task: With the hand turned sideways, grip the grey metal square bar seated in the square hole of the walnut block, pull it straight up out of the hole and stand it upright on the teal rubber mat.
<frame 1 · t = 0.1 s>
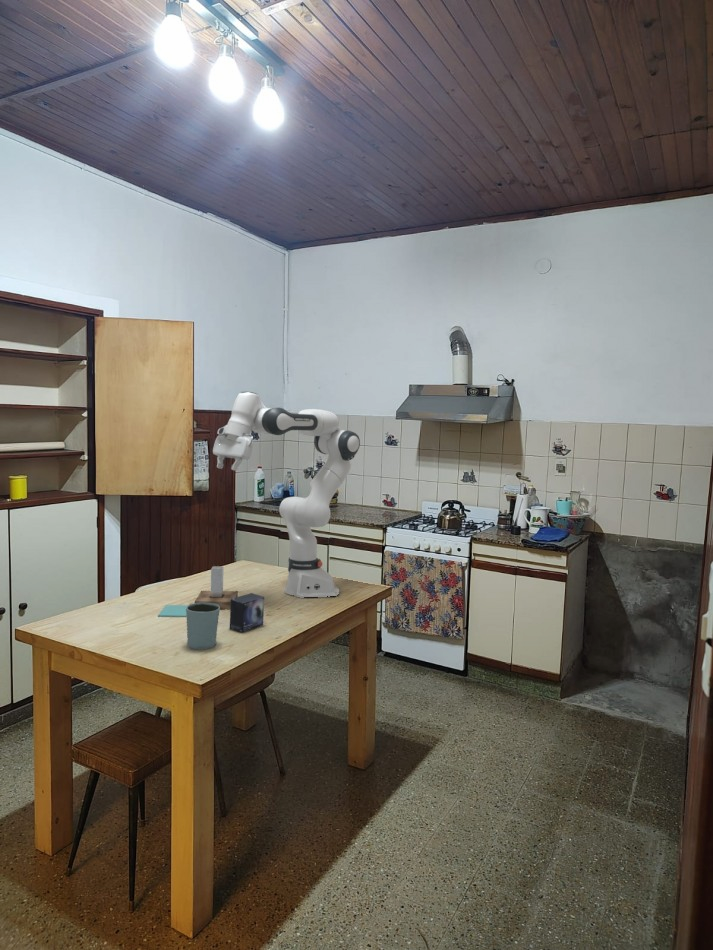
hand: (226, 469, 221), 52 cm above the table, tool tilted 20°, fingers open, 8 cm apart
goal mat: (178, 611, 221), on the table
metal bar: (217, 585, 231), in the socket block
grey-green cup: (202, 645, 190), on the table
small box: (246, 628, 207), on the table
socket block: (216, 603, 232), on the table
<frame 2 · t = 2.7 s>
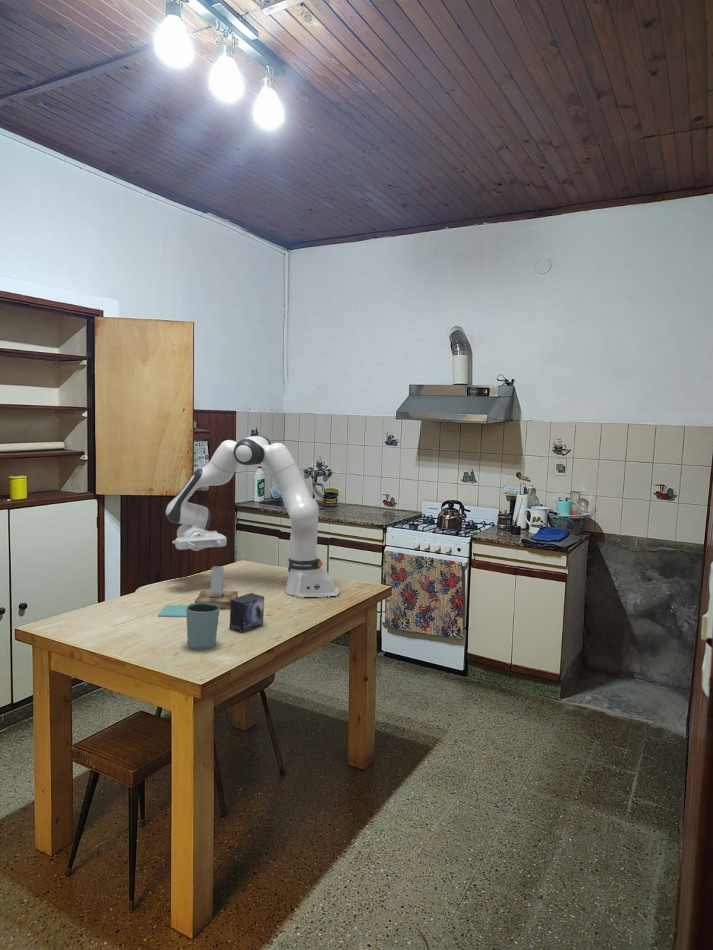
hand: (207, 546, 240), 20 cm above the table, tool horizontal, fingers open, 8 cm apart
nothing on the table moved.
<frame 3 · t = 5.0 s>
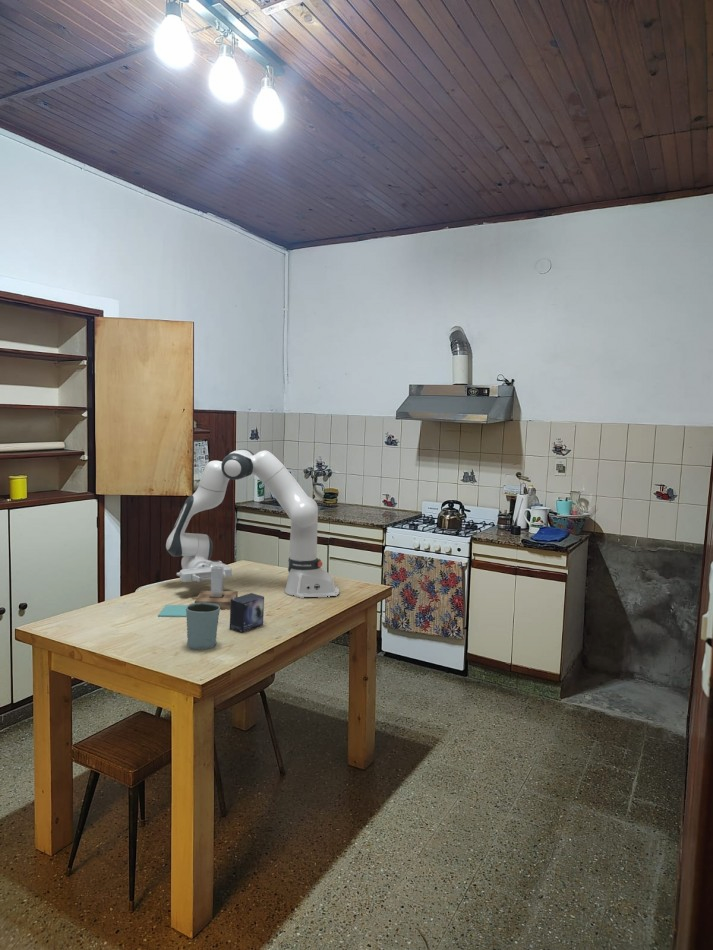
hand: (212, 578, 236), 8 cm above the table, tool horizontal, fingers open, 8 cm apart
nothing on the table moved.
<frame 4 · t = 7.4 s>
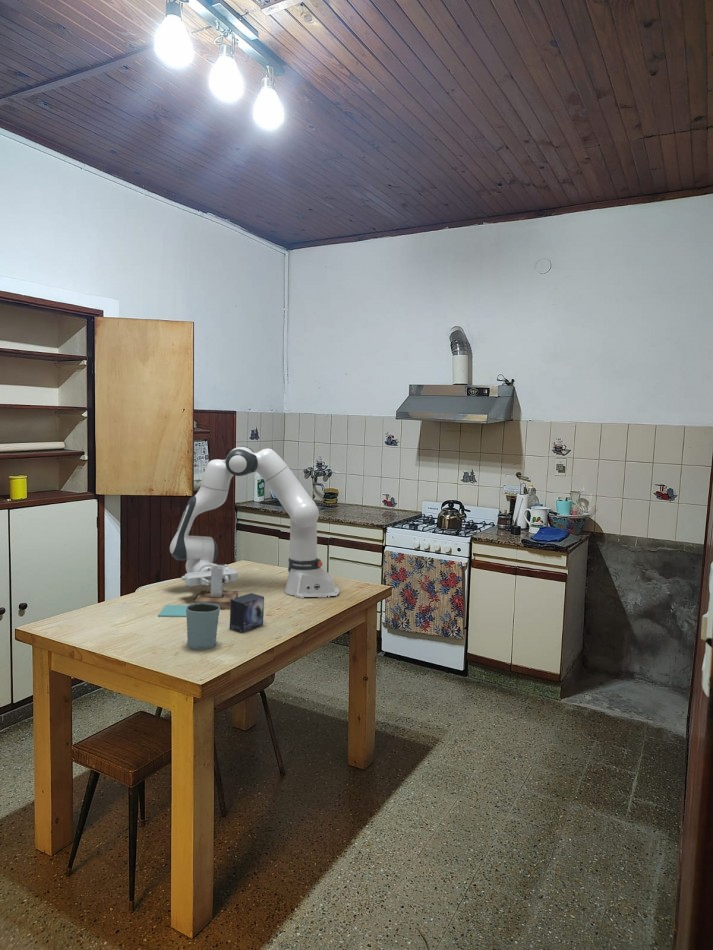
hand: (218, 582, 230), 9 cm above the table, tool horizontal, fingers closed on metal bar, 5 cm apart
metal bar: (217, 585, 231), in the socket block, touching gripper
everything else where it was.
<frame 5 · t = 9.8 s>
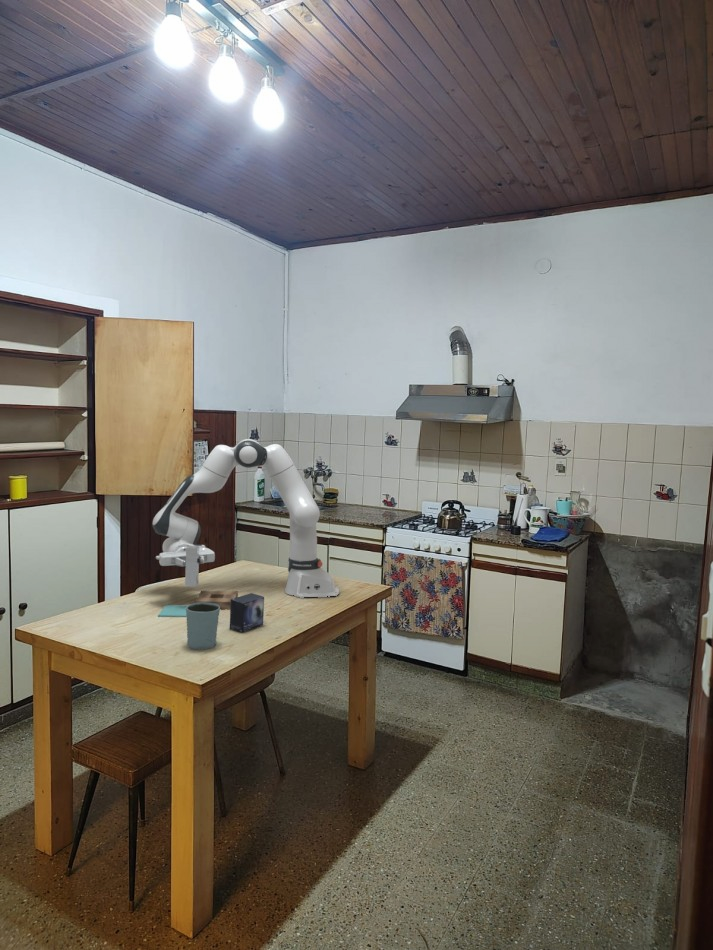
hand: (193, 562, 223), 18 cm above the table, tool horizontal, fingers closed on metal bar, 5 cm apart
metal bar: (192, 565, 224), point 16 cm above the table, touching gripper
everything else where it was.
when the fingers open (10 cm above the table, at t = 12.3 s): metal bar drops 1 cm, resting on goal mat.
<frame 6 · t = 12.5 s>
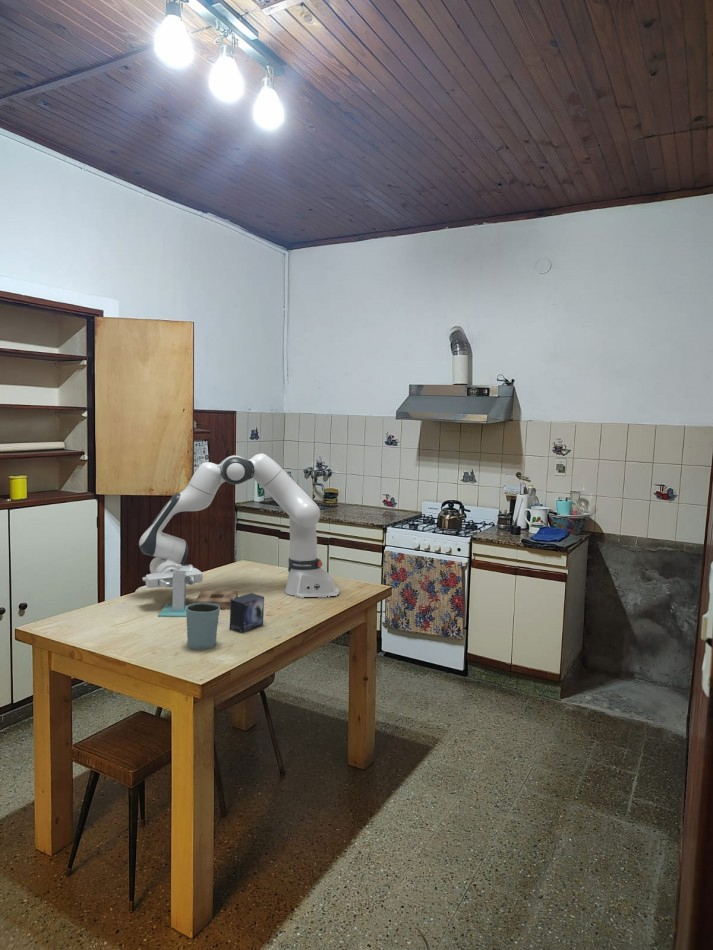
hand: (180, 583, 219), 10 cm above the table, tool horizontal, fingers open, 7 cm apart
metal bar: (179, 591, 220), on the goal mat
everything else where it was.
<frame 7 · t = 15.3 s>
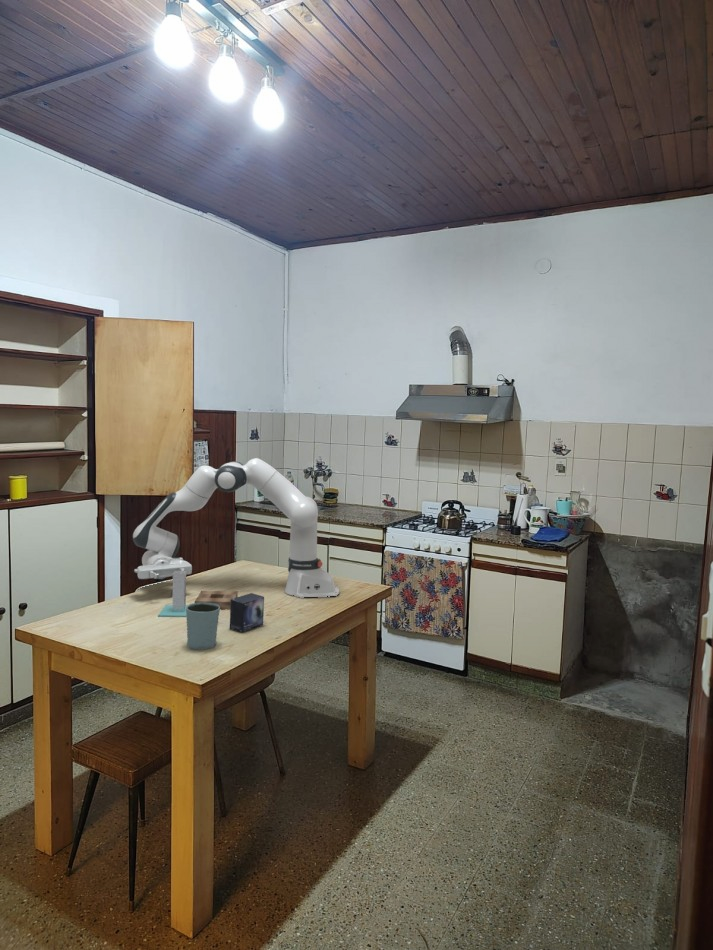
hand: (170, 575, 230), 11 cm above the table, tool horizontal, fingers open, 8 cm apart
nothing on the table moved.
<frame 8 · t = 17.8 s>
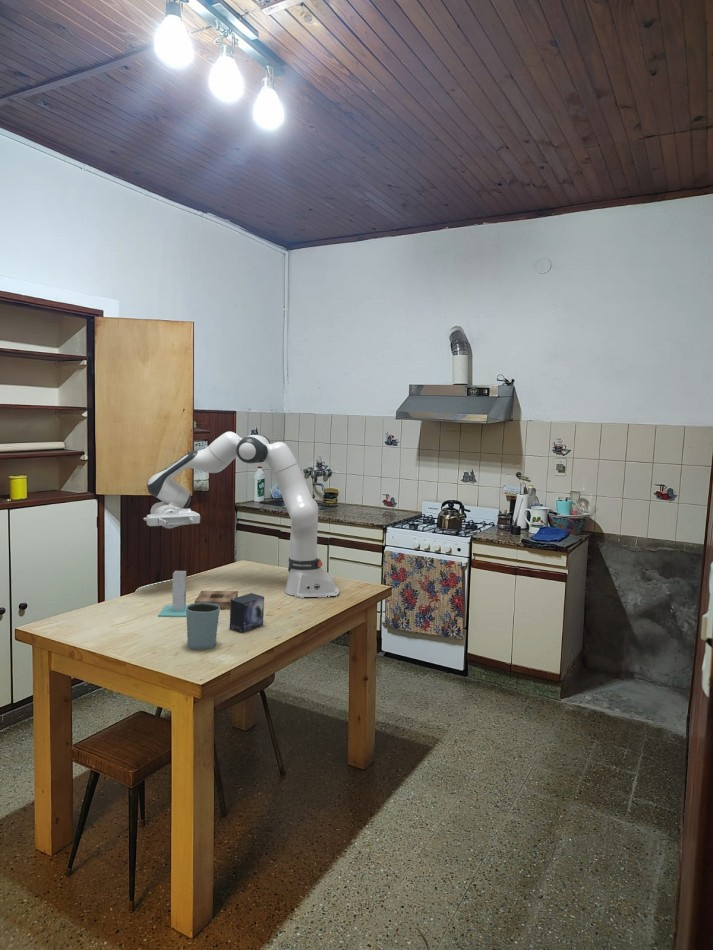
hand: (178, 522, 233), 30 cm above the table, tool horizontal, fingers open, 8 cm apart
nothing on the table moved.
at the end: metal bar inside the target area on the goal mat (0.1 cm from its centre), point 7.5 cm above the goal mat's base; metal bar tilted 0°; the gripper is holding nothing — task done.
